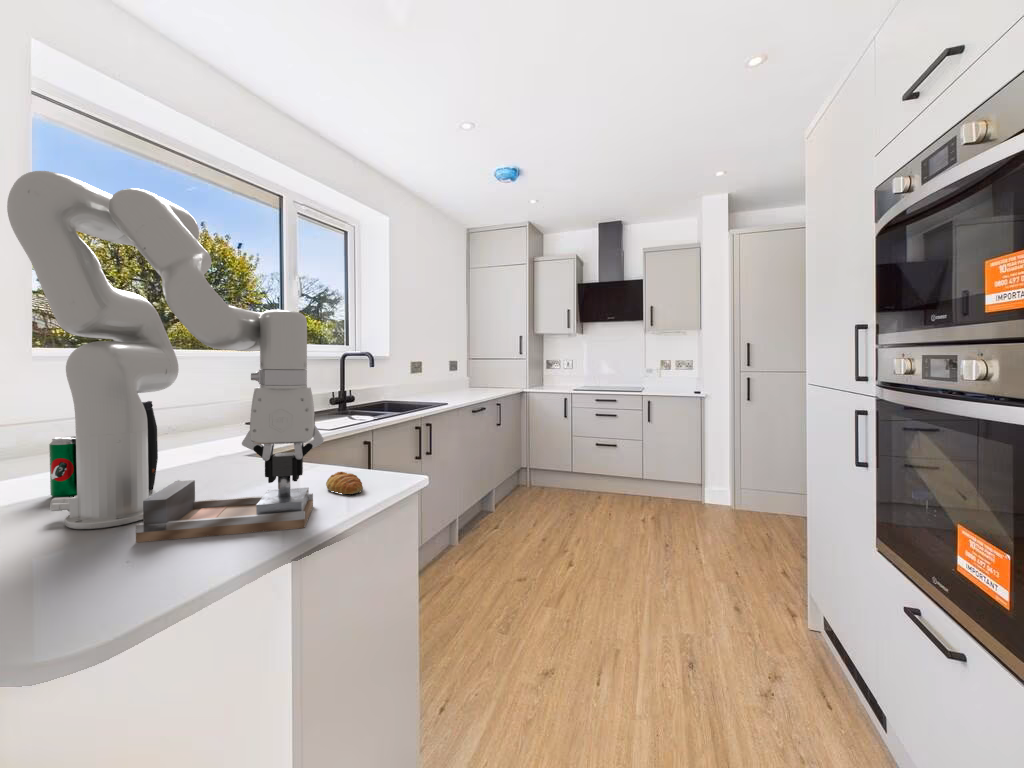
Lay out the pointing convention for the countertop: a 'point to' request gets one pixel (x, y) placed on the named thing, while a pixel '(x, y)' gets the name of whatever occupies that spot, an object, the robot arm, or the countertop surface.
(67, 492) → the soda can
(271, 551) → the countertop surface
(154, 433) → the portable speaker
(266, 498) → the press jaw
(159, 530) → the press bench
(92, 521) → the robot arm
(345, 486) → the pastry
